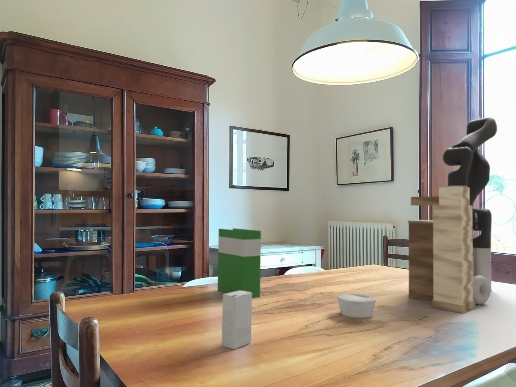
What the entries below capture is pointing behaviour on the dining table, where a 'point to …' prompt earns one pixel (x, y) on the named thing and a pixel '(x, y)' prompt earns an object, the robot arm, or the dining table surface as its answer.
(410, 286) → the cream-topped wooden box
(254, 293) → the green cereal box
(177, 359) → the dining table surface
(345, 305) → the ramekin
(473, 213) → the robot arm
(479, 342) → the dining table surface
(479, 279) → the donut
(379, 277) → the dining table surface
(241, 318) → the skincare box
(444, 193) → the brown tan long block
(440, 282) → the wooden block
